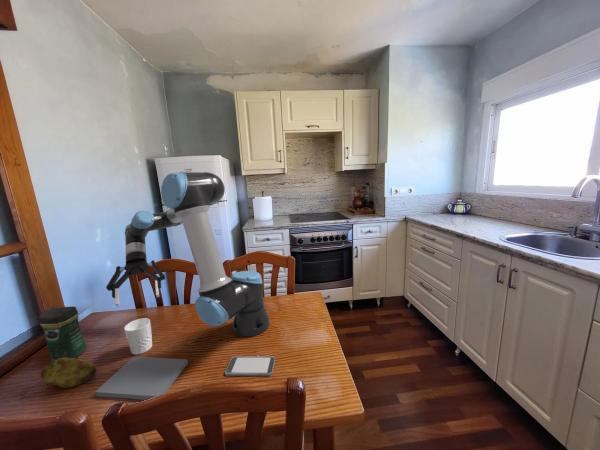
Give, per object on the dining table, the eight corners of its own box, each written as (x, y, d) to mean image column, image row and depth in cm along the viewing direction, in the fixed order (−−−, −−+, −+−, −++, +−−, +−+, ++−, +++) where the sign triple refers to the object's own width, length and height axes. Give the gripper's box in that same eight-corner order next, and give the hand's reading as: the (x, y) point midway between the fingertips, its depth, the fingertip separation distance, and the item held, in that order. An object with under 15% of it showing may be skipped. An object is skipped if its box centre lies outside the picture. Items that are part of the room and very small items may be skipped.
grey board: (187, 363, 81) (187, 359, 81) (159, 401, 67) (158, 396, 67) (134, 360, 84) (133, 356, 83) (96, 396, 70) (95, 391, 70)
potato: (75, 395, 70) (68, 372, 69) (38, 392, 72) (31, 369, 71) (101, 373, 78) (96, 351, 77) (68, 370, 80) (62, 349, 79)
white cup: (137, 342, 93) (132, 319, 91) (158, 340, 94) (154, 317, 92) (124, 357, 85) (119, 331, 84) (147, 354, 86) (142, 329, 84)
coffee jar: (91, 347, 92) (81, 302, 88) (71, 362, 84) (59, 314, 80) (67, 347, 92) (55, 303, 88) (45, 363, 84) (31, 315, 81)
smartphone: (232, 356, 82) (275, 356, 81) (232, 359, 82) (275, 359, 82) (224, 373, 75) (271, 373, 74) (224, 376, 75) (272, 376, 74)
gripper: (168, 253, 115) (173, 295, 105) (103, 264, 103) (101, 312, 93) (167, 245, 109) (172, 288, 99) (97, 256, 98) (95, 306, 88)
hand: (138, 300), depth 96 cm, fingers open, 13 cm apart
